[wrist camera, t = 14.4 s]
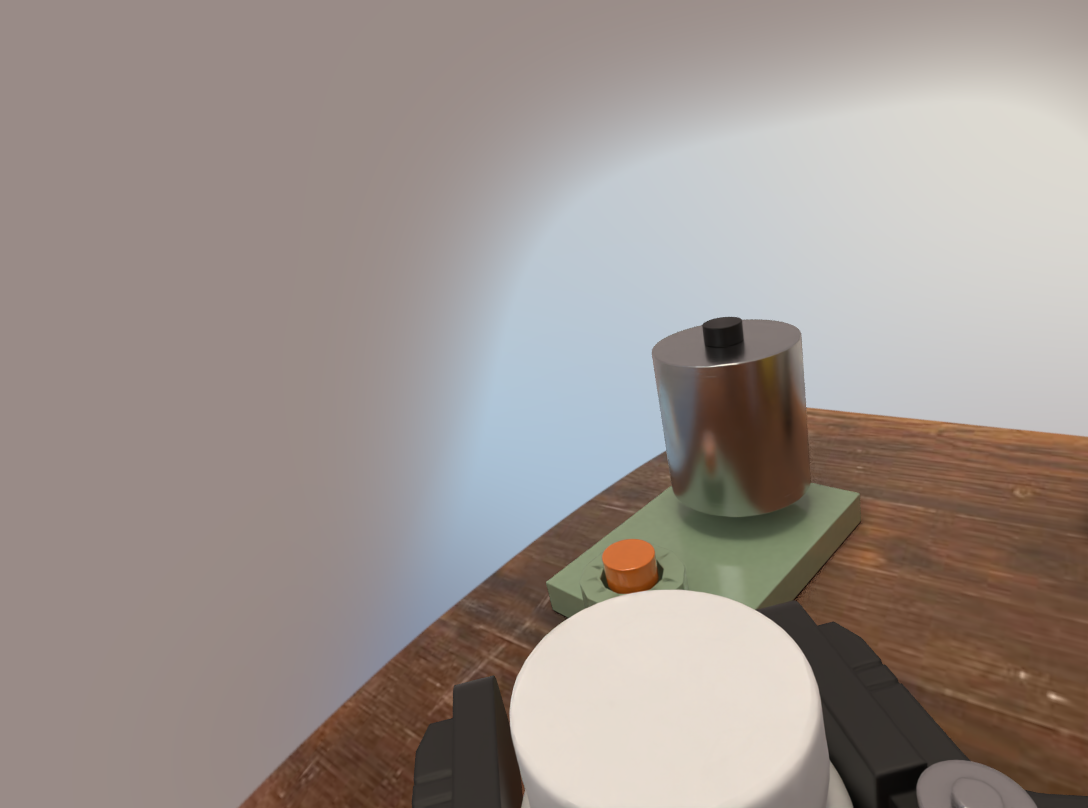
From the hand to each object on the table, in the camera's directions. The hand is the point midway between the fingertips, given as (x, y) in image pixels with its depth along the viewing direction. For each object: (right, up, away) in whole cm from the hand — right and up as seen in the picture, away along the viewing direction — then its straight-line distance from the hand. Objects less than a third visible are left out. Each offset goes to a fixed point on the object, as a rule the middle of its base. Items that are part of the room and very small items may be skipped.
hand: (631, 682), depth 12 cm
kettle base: (+9, -6, +31) cm, 33 cm away
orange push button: (+3, -5, +26) cm, 26 cm away
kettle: (+12, 0, +32) cm, 34 cm away
